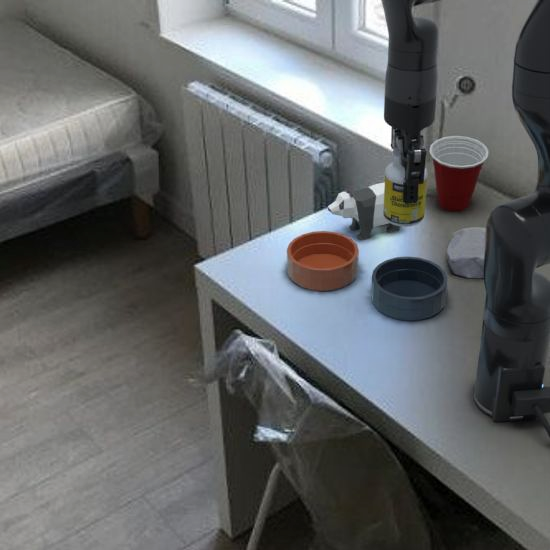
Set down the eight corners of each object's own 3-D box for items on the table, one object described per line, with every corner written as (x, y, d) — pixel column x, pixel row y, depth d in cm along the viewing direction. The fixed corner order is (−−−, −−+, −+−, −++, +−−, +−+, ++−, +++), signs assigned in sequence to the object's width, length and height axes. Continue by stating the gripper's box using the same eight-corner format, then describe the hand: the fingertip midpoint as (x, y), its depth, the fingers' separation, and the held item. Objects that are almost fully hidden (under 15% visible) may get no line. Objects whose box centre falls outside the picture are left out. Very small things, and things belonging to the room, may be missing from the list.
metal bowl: (453, 318, 157) (455, 295, 154) (378, 324, 156) (379, 301, 153) (435, 275, 167) (437, 254, 164) (365, 281, 166) (366, 259, 163)
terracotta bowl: (363, 288, 164) (363, 267, 161) (291, 294, 163) (291, 272, 161) (351, 249, 174) (352, 228, 171) (284, 254, 173) (283, 233, 171)
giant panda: (393, 216, 183) (395, 171, 178) (406, 230, 179) (409, 185, 173) (322, 232, 179) (322, 187, 174) (334, 247, 175) (334, 202, 169)
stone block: (447, 284, 167) (507, 280, 164) (444, 261, 165) (504, 256, 162) (451, 249, 177) (507, 245, 174) (448, 226, 175) (505, 221, 172)
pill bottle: (378, 225, 152) (381, 159, 145) (388, 204, 157) (391, 140, 150) (419, 231, 150) (424, 164, 143) (428, 210, 155) (432, 145, 148)
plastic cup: (428, 219, 182) (432, 163, 175) (423, 190, 191) (426, 136, 184) (486, 219, 181) (493, 162, 174) (478, 190, 190) (484, 135, 183)
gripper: (376, 73, 147) (373, 170, 156) (394, 113, 135) (390, 216, 144) (425, 70, 147) (419, 167, 157) (447, 110, 135) (439, 212, 145)
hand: (405, 190), depth 150 cm, fingers closed on pill bottle, 6 cm apart
